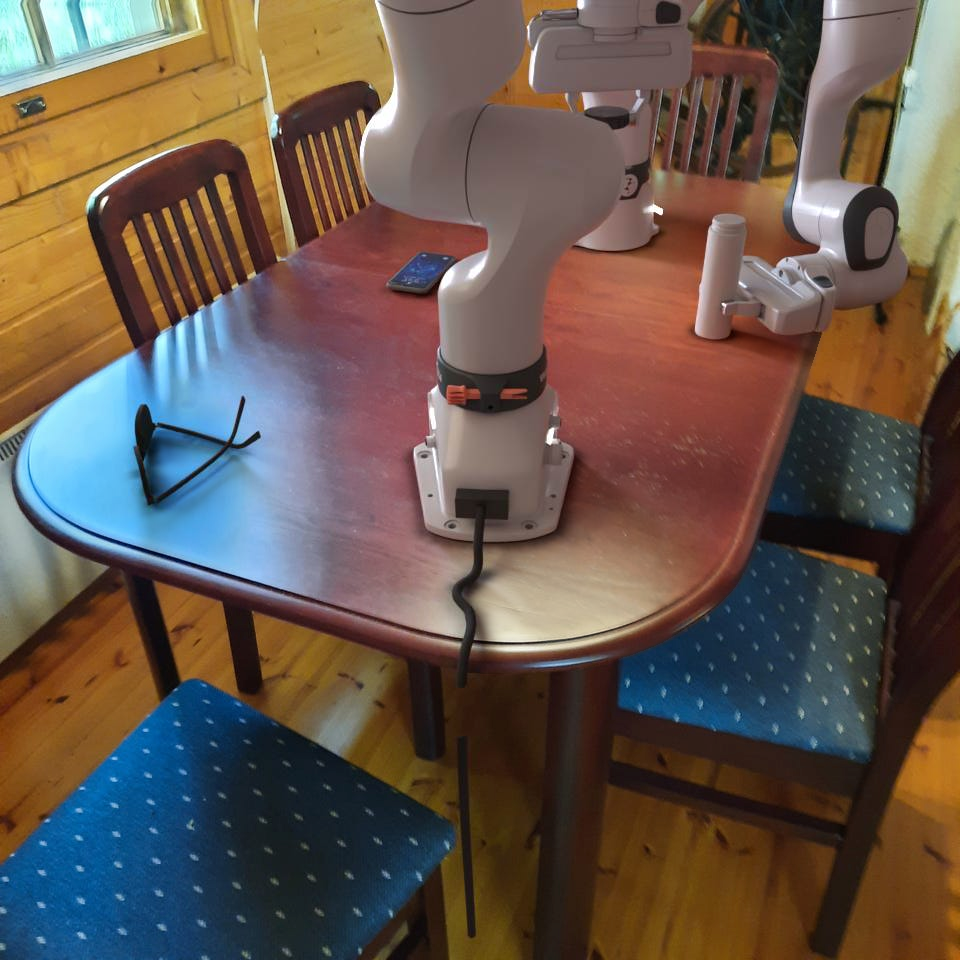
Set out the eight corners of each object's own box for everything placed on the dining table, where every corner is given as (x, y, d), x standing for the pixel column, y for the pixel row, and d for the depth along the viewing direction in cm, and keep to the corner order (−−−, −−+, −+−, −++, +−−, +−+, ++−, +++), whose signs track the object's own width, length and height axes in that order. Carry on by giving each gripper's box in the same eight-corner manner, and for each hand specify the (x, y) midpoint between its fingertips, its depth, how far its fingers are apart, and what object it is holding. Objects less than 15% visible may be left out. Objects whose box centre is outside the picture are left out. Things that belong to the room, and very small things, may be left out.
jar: (690, 335, 124) (706, 222, 114) (699, 321, 128) (715, 210, 118) (725, 342, 122) (744, 227, 112) (733, 327, 126) (752, 215, 116)
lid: (637, 123, 112) (638, 109, 111) (612, 133, 108) (613, 119, 107) (599, 116, 115) (600, 103, 114) (574, 126, 111) (575, 112, 110)
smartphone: (458, 255, 148) (426, 290, 136) (458, 261, 148) (426, 296, 137) (419, 250, 150) (383, 284, 138) (419, 255, 150) (384, 289, 139)
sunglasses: (270, 486, 97) (262, 449, 94) (137, 510, 94) (125, 474, 91) (257, 411, 110) (250, 377, 107) (140, 430, 107) (130, 396, 104)
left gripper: (531, 14, 100) (530, 137, 108) (703, 7, 101) (688, 129, 110) (524, 6, 105) (523, 124, 113) (687, 0, 106) (675, 117, 115)
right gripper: (764, 240, 131) (681, 251, 128) (844, 294, 115) (751, 308, 112) (757, 279, 134) (676, 291, 132) (833, 336, 119) (743, 351, 116)
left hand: (606, 127), depth 111 cm, fingers closed on lid, 5 cm apart
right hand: (711, 299), depth 122 cm, fingers closed on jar, 5 cm apart
